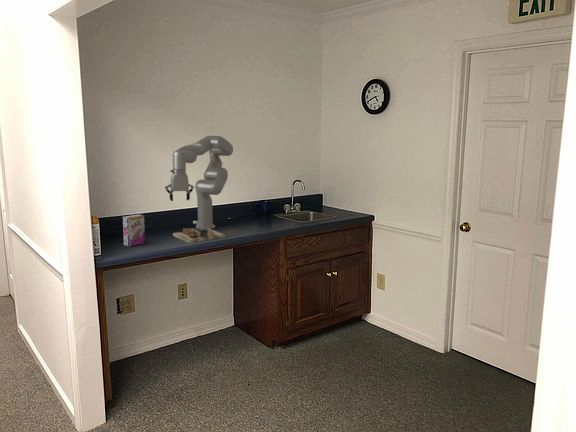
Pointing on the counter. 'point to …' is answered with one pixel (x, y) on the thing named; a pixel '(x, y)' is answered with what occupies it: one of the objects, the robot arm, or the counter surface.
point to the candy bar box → (133, 230)
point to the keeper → (203, 232)
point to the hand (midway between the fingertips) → (179, 200)
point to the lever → (190, 232)
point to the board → (199, 236)
